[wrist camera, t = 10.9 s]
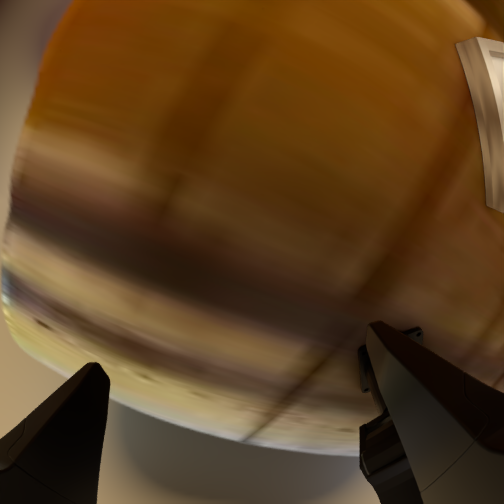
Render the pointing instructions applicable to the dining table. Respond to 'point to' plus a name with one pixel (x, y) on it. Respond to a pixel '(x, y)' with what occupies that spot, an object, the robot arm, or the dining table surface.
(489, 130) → the tray
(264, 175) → the dining table surface
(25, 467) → the robot arm
